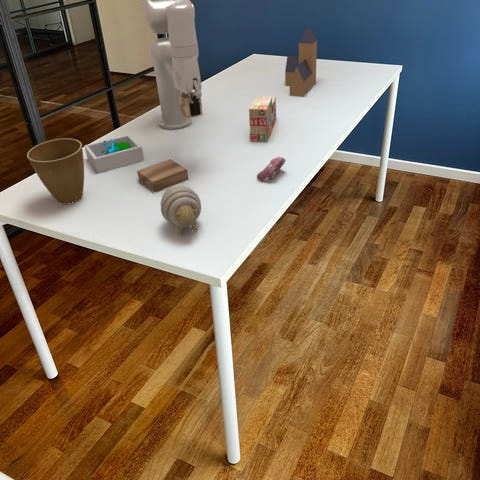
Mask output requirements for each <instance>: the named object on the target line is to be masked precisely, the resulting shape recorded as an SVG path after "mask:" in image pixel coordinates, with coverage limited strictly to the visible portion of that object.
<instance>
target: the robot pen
mask: <svg viewBox="0 0 480 480" xmlns="http://www.w3.org/2000/svg"><path fill="white" fill-rule="evenodd" d="M111 139H113V143H114V145H115V144H116V143H117V144H120V143H122V142H124V143H127V144H128V145H129V146H130V149H126V150H122V151H119V152H115V153H111V154H107V155H105V154H106V153H101V152H102V151H109V149H108V148H107V147H106V146H105V145H102V144H103V143H104V142H103V141H105V140H106V141H105V142H106V143H107V145H108V146H110V147H112V140H111ZM105 140H101V141H98V142H92V143H90V144H85V145H84V146H83V147H84V151H85V153H86V154H85V155H86V159H87V161H88V162H89V163H90V165H91V166H92V167H93V169H94V170H95V171H96V173H97V174H100V173H104V172H107V171H111V170H115V169H118V168H121V167H126V166H129V165H133V164H137V163H140V162H143V161H145V157H144V152H143V151H144V150H143V147H142V145H141V144H140V143H138V141H137V140H136V139H135V138H133V137H132V135H130V134H125V135H120V136H116V137H113V138H109V139H105ZM104 144H105V143H104Z"/></svg>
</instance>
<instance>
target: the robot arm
mask: <svg viewBox="0 0 480 480" xmlns="http://www.w3.org/2000/svg"><path fill="white" fill-rule="evenodd" d="M140 3H141V7H142V10H143V15H144V18H145V21H146V23H147V25H148V27H149V29H150V31H151V33H153V34H156V35H163V34H168V37H166V36H165V37H161V38H156V39H154V40H152V41H151V42H150V44H149V47H148V48H149V49H148V51H149V56H150V59H151V63H152V66H153V69H154V74H155V80H156V86H157V92H158V99H159V104H160V105H159V106H160V110H161V111H160V112H161V117H162V118H161V119H160V120H159V121H158V124H159V127H160V128H162V129H165V130H179V129H184V128H186V127H189V126H190V125H191V123H192V118H190V119H188V118H186V117H185V116H183V115H181V109H180V101H179V95H181V94H187V95H188V94H189V99H190V103H189V106H190V114H191V116H196V115H200V114H201V110H200V97H201V98H202V95H203V94H202V80H201V73H200V66H199V61H198V59H199V45H198V39H197V31H196V23H195V17H196V12H195V6H194V4H193V2H191V0H141V2H140ZM193 90H194V91H193ZM192 94H195V96H193V98H192Z"/></svg>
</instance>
